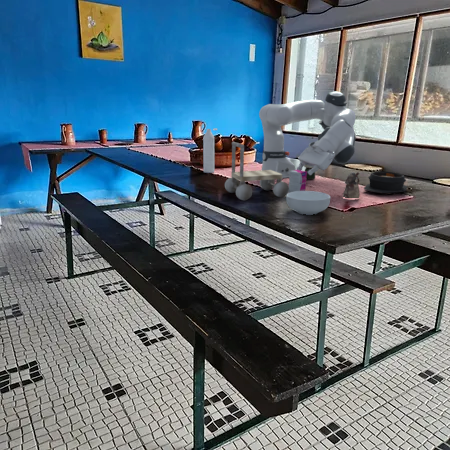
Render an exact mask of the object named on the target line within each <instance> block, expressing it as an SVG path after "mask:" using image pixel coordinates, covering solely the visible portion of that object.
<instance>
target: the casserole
mask: <svg viewBox="0 0 450 450" xmlns="http://www.w3.org/2000/svg"><path fill="white" fill-rule="evenodd" d="M405 177H406V176H405V175H404V174H401V173H398V172H393V171H392V172H391V171H374V172H371V173H370V175H369V176H368V177H367V178H368V180H369V183H367V184H366V185H365V186H364V187H363V190H365V191H368V192H371V193H378V194H383V193H395V194H399V193H403V192H406V191H407V188H408V185H405V183H406V181H407V179H406V178H405Z"/></svg>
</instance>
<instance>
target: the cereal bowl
mask: <svg viewBox="0 0 450 450" xmlns="http://www.w3.org/2000/svg"><path fill="white" fill-rule="evenodd" d="M285 201H286V205H288V208H289V209H291V210H293V211H295V212H296V213H298V214H300V215H303V214H306V215H305V216H311V215H313V214H315V215H317V214H318V213H321V212H324V211H325V210H326V209H327V208H328V207H329V205H330V202H331V195H329V194H328V193H325V192H321V191H316V190H315V191H313V190H305V191H294V192H290V193H287V195H286V196H285Z"/></svg>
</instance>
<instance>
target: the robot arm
mask: <svg viewBox="0 0 450 450" xmlns="http://www.w3.org/2000/svg"><path fill="white" fill-rule="evenodd" d="M324 100H325V102H324V101H323V100H320V99H304V100H297V101H292V102H288V103H283V104H278V103H277V104H276V103H275V104H274V103H268V104H266V105H264V106H262V107H261V108H260V110H259V113H258V115H259V119H260V121H261V125H262V132H263V150H262V166H261V170H272V171H275V172H278V173H280V174H282V179H286V178H288V179H289V177H290V171H293V170H301V171H303V167H304V166H305V165H308V166H311V167H313V168H312V169H311V170H309V171H308V172H307V173H308V174H309V175H312V174H313V173H314V172H315V173H316V172H318V170H322V171H324V170H327V168H328V167H329V166H330V165H331V163H332V162H333V161H334V160H335V161H336V162H337V163H338V164H346V163H347V162H349V161H350V160H351V159H352V158H353V156H354V154H355V150H356V149H355V143H356V137H357V135H356V131H355V128H354V125H355V122H356V118H357V117H356V113H355V111H354V110H353V109H351V108H347V106H346V105H347V104H348V101H347V99H346V96H345V94H344V93H343V92H340V91H336V90H335V91H330V92H329V93H327V94H326V96H325V99H324ZM317 119H318V120H319V121H318V123H319V125H320V126H321V127H322V129H323V131H322V132H321V133H320V134H319V135H318V136H317V140H316V141H312V142H310V143H308V147H306V148H305V149H304V150H303V151H302V152H301V153H300V155H299V156H298V161H299V164H298V166H297V167H296V165H295V164H294V163H293V162H292V161H291V160H290V159H289V158H287V157H289V156H290V154H291V152H289V151H285V150H284V148H285V135H284V133H283V130H282V126H286V125H291V124H294V123H299V122H304V121H310V120H317Z"/></svg>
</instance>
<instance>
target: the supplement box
mask: <svg viewBox="0 0 450 450" xmlns="http://www.w3.org/2000/svg"><path fill="white" fill-rule="evenodd" d="M306 177H307V171H305V170H297V169H296V170H293V171H290V177H288V179H289V180H288V186H289V191H288V193H290V192H294V191H306V188H307V178H306ZM288 193H287V194H288Z"/></svg>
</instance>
